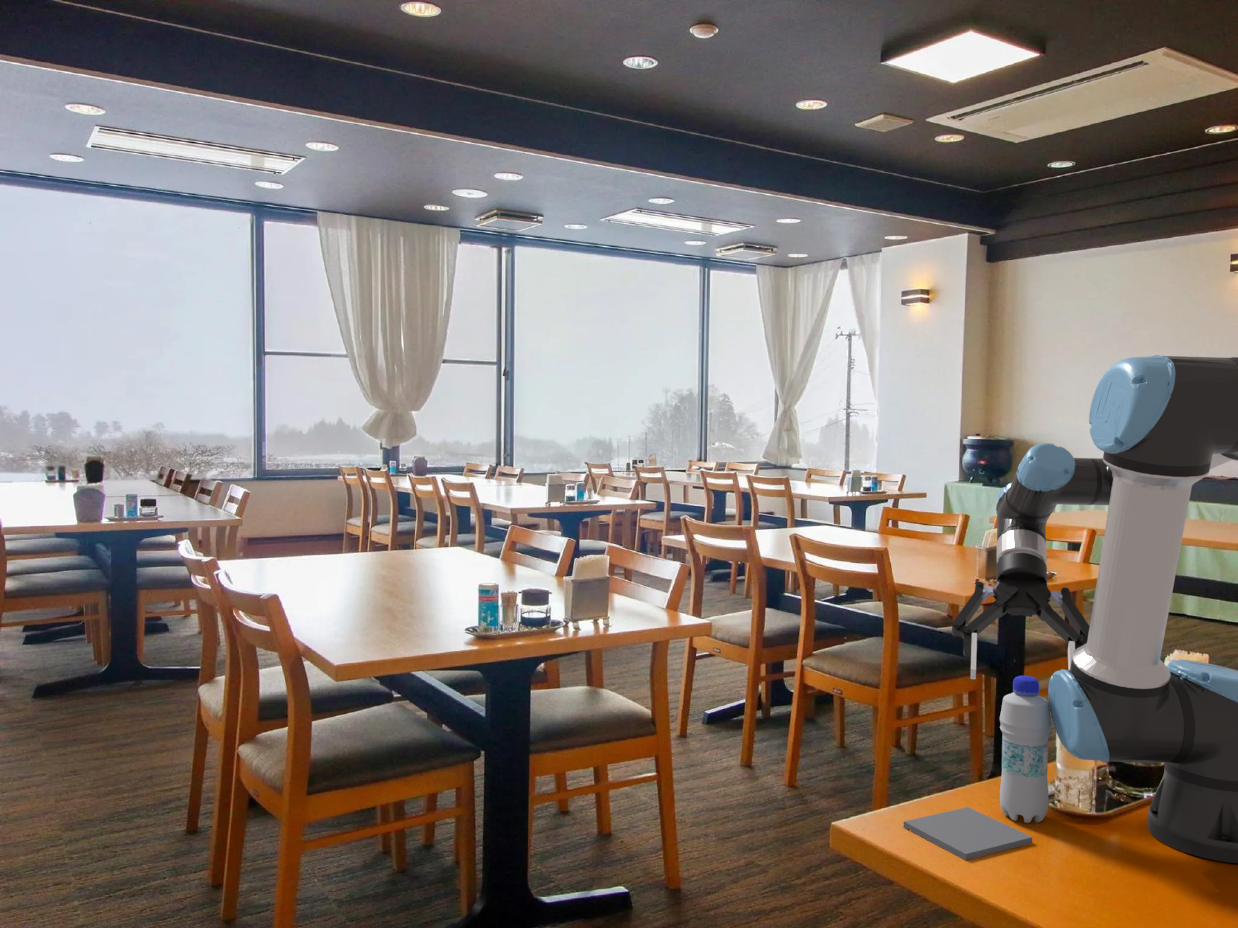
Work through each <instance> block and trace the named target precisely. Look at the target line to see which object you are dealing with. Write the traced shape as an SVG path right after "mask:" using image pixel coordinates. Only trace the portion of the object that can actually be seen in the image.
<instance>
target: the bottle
mask: <svg viewBox="0 0 1238 928" xmlns="http://www.w3.org/2000/svg"><path fill="white" fill-rule="evenodd" d="M1039 694H1040V683H1039V681H1038V679H1037V678H1036V677H1034V676H1030V675H1018V676H1015V677H1014V679H1013V680H1012V692H1011V693H1008V694H1005V695H1004V696H1003V698H1002V702H1001V703H1002V704H1001V709H1000V710H1001V711H1000V715H999V722H1000V726H999V728H1000V731H1001V733H1002V737H1001V740H1002V741H1001V743H1002V744H1001V778H1000V786H999V787H1000V788H999V803H1000V804H999V805H1000V809H1001V811H1002V814H1004V815H1005V816H1007V817H1009V818H1010V819H1011V820H1013V821H1016V822H1017V821H1018V819H1019V817H1018V816H1022V817H1023V822H1024V824H1025V823H1026V824H1029V823H1031V822H1032V819H1033V820H1034V822H1035V823H1040V822H1042V821H1043V820H1044V819H1045V817H1046V814H1048V810H1049V785H1048V763H1049V762H1048V761H1049V760H1048V758H1049V757H1048V755H1049V752H1048V751H1049V737H1051V734H1052V732H1051V728H1052V717H1051V712H1050V707H1049V700H1047V699H1046V698H1044V697H1042V696H1041V695H1039Z"/></svg>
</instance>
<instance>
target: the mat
mask: <svg viewBox="0 0 1238 928" xmlns="http://www.w3.org/2000/svg"><path fill="white" fill-rule="evenodd" d="M904 827H905V829H907V830H908V829H909V830H908V831H910V830H911V831H910V832H911V833H913V832H914V833H913V834H915V833H916V835H917V834H918V836H919V835H920V836H919V837H921V838H923V839H925V840H926V841H928V842H930V841H931V843H933V844H934V845H936V846H938V847H940V848H941V849H943V850H946V851H948V852H950V853H952V854H953V855H955V856H957V857H959V858H961V859H962V860H964V861H969V860H973V859H975V858H979V857H985V856H987V855H991V854H995V853H1000V852H1004V851H1006V850H1007V851H1008V850H1011V849H1014V848H1018V847H1022V846H1026V845H1030V844H1033V836H1031V835H1029V834H1027V833H1025V832H1022V831H1020V830H1018V829H1016V828H1014V827H1011V826H1009V825H1007V824H1005V823H1003V822H1001V821H999V820H997V819H995V818H993V817H991V816H988V815H986V814H984V813H982V812H980V811H977V810H976V809H973V808H971V807H968V806H965V807H962V808H957V809H953V810H948V811H944V812H939V813H935V814H930V815H927V816H922V817H918V818H914V819H909V820H905V821H903V828H904Z"/></svg>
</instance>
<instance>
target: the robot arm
mask: <svg viewBox="0 0 1238 928" xmlns="http://www.w3.org/2000/svg"><path fill="white" fill-rule="evenodd" d="M1088 417H1089V418H1088V423H1089V425H1091V426H1090V429H1089V433H1090V438H1091V440H1092V442H1093V444H1094V446H1096V448H1097V449H1099V450H1100V451H1102V452H1103V456H1102V458H1101V457H1100V458H1099V457H1098V458H1096V457H1095V458H1094V457H1090V458H1089V457H1074V456H1073V454H1072V453H1071V452H1070V451H1069V450H1067V449H1066V448H1065V447H1064V446H1063V447H1062V446H1057V445H1055V444H1054V443H1051V442H1043V443H1038V444H1036V445H1033V446H1031V447H1030V448H1029V449H1028V451H1026V454H1025V455H1024V456H1023V458H1022V460H1021V461H1020V463H1019V464H1018V466H1017V470H1016V472H1015V474H1014V477H1013V479H1012V482H1010V483H1008V484H1007V485H1006V486H1003V487H1001V489H1000V490H999V492H998V497H997V503H996V506H995V510H996V570H995V572H996V573H995V575H996V576H995V579H996V581H995V584H994V586H989V585H988V586H987V585H985V584H984V582H983V581H977V582H975V586H974V587H975V588H974V592H973V594H972V595H971V597H970V598H969V599H968V600H967V602H966V603H965V604H964V606H963V607H962V608H961V610H960V611H959V613H958V614H957V616H956V617H955V619H954V620H953V622H952V623H951V634H952V636H953V637H955V638H956V637H959V638H962V639H963V646H962V647H963V651H962V655H963V656H964V658H965V657H966V658H970V680H976V679H977V651H978V635H980V633H982V632H983V631H984V630H985V629H987V628H988V627H989V626H990V625H992V624H993V623H994V622H995V621H996V620H997V619H999V618H1002V617H1003V616H1005V615H1006V614H1007V613H1008V614H1010V616H1023V617H1031V618H1032V617H1033V616H1036V617H1037V618H1038V619H1040V621H1042V622H1045V623H1046V624H1047V625H1048V626H1049V627H1050V628H1051V629H1052V630H1053V631H1054V632H1055V633H1056V634H1057V635H1058V636H1059V637H1060V638H1061V639H1062V640H1064V642H1066V643H1067V644H1068V646H1067V665H1068V666H1067V667H1068V669H1064V668H1063V669H1060V670H1056V671H1054V672H1053V674H1052V675H1051V676H1050V679H1049V683H1048V689H1047V690H1048V703H1049V710H1050V718H1051V722H1052V723H1053V727H1054V730H1055V733H1056V735H1057V738H1058V739H1059V741H1060V743H1061V745H1062V747H1063V748H1064V749H1065V750H1066V751H1067V753H1069V754H1070V755H1071V756H1072V757H1074V758H1077V759H1078V760H1084V761H1097V762H1101V763H1104V764H1107V763H1109V762H1114V763H1115V762H1117V763H1118V762H1122V763H1123V762H1124V763H1156V764H1157V763H1159V764H1160V763H1163V764H1164V771H1163V776H1162V779H1161V780H1160V783H1159V785H1158V787H1157V789H1156V791H1155V794H1154V796H1153V799H1152V801H1151V803H1150V806H1149V807H1148V810H1147V811H1148V812H1147V830H1148V832H1149V833H1150V834H1151V835H1152V836H1153V837H1154V838H1155V839H1157V840H1159V841H1160V842H1162V843H1163V844H1165V845H1167V846H1169V847H1171V848H1174V849H1176V850H1178V851H1181V852H1184V853H1186V854H1190V855H1191V856H1192V855H1193V856H1196V857H1200V858H1203V859H1207V860H1212V861H1218V862H1221V863H1222V862H1223V863H1231V864H1238V669H1237V670H1236V669H1234V668H1229V667H1226V666H1221V665H1219V664H1218V665H1217V664H1212V663H1208V662H1202V661H1199V660H1197V661H1196V660H1188V659H1182V658H1181V659H1180V658H1179V659H1172V660H1170V661H1169V662H1168V665H1166V664H1165V663H1164V662H1163V661H1162V660H1161V655H1162V649H1163V645H1164V640H1165V633H1166V629H1167V623H1168V618H1169V613H1170V607H1171V601H1172V596H1173V591H1174V585H1175V580H1176V579H1175V578H1176V573H1177V570H1178V564H1179V557H1180V552H1181V547H1182V541H1183V537H1184V531H1185V525H1186V521H1187V515H1188V508H1189V503H1190V499H1191V493H1192V487H1193V485H1195V483H1198V482H1199V481H1201V480H1203V478H1206V477H1208V475H1209V474H1210V470H1212V469H1214V468H1216V467H1218V466H1221V465H1224V464H1226V463H1229V462H1231V461H1235V462H1238V357H1236V356H1233V357H1217V356H1214V357H1213V356H1212V357H1211V356H1179V355H1176V356H1175V355H1173V356H1172V355H1160V354H1155V355H1149V356H1137V357H1136V356H1135V357H1134V356H1133V357H1126V358H1124V359H1123V358H1122V359H1120V360H1118V361H1117V362H1115V363H1114V364H1113V365H1112V366H1111V367H1110V368H1109V369H1108V370H1107V371H1106V372H1105V373H1103V375H1102V377H1101V379H1100V380H1099V382H1098V384H1097V386H1096V388H1095V390H1094V393H1093V395H1092V399H1091V402H1090V409H1089V414H1088ZM1057 505H1066V506H1067V505H1068V506H1069V505H1070V506H1071V505H1073V506H1075V505H1076V506H1094V505H1095V506H1108V510H1107V515H1106V522H1105V529H1104V535H1103V542H1102V548H1101V555H1100V559H1099V566H1098V567H1099V568H1098V573H1097V578H1096V585H1095V591H1094V597H1093V604H1092V610H1091V614H1090V615H1091V617H1090V622H1089V623H1088V621H1087V620H1086V619H1085V617H1084V616H1083V614H1082V613H1081V612H1080V610H1079V609H1078V607H1077V605H1076V604H1075V603H1074V601H1073V600H1072V597H1071V591H1070V589H1069V588H1068V587H1061V589H1060V590H1059V591H1058V590H1052V591H1051V590H1050V589H1049V587H1048V568H1047V563H1048V561H1047V537H1046V535H1047V534H1046V533H1047V529H1046V528H1047V523H1048V520H1049V518H1050V516H1051V514H1052V513H1053V511H1054V510H1055V508H1056V507H1057ZM991 596H992V597H993V598H994V601H993V603H992V604H991V605H990V606H989V607H987V609H985V610H984V611H982V612H981V613H980V614H979V615H977V616H976V618H974V619H973V620H972V618H973V617H974V615H976V612H977V611H978V610H979V608H980V607H981V605H982V602H984V601H987V599H988V598H989V597H991ZM1051 600H1052V601H1053V602H1055V604H1056V605H1057V607H1061V610H1062V612H1063V614H1064V615H1065V617H1066V618H1067V620H1068V621H1069V623H1070V624H1069V623H1068V622H1067V621H1066V620H1065V619H1063V617H1062V616H1061V615H1059V614H1058V612H1056V611H1055V610H1054V609H1053V608H1052V606H1051V604H1050V603H1049V602H1050V601H1051Z"/></svg>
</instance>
